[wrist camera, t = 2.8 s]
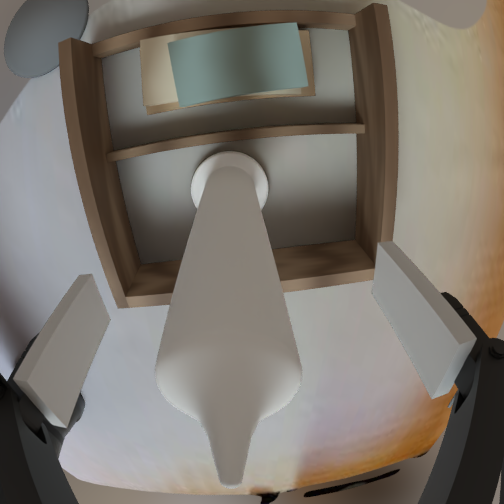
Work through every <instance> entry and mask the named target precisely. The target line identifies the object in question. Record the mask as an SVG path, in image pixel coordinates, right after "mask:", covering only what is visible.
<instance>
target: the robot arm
mask: <svg viewBox="0 0 504 504" xmlns="http://www.w3.org/2000/svg"><path fill="white" fill-rule="evenodd" d="M372 294H373V296H374V298H375V299H376V301H377V303H378V304H379V306H380V307H381V309H382V311H383V312H384V314H385V316H386V317H387V319H388V321H389V322H390V324H391V326H392V328H393V329H394V331H395V333H396V334H397V336H398V338H399V340H400V341H401V343H402V345H403V347H404V348H405V350H406V352H407V354H408V356H409V357H410V359H411V361H412V363H413V365H414V366H415V368H416V370H417V372H418V374H419V376H420V378H421V380H422V381H423V383H424V385H425V387H426V389H427V391H428V393H429V395H430V397H431V399H434V398H436V397H439V396H442V395H444V394H447V393H449V391H450V389H451V387H452V386H453V384H454V383H455V384H456V386H457V388H458V390H457V392H456V394H455V395H454V397H453V399H452V400H451V402H450V403H449V405H448V407H449V408H450V407H451V406H452V404H453V406H452V410H451V414H450V418H449V421H448V425H447V428H446V431H445V435H444V438H443V441H442V444H441V447H440V450H439V453H438V456H437V459H436V461H435V464H434V467H433V469H432V472H431V474H430V477H429V479H428V482H427V484H426V486H425V489H424V491H423V493H422V496H421V498H420V500H419V502H418V504H492V501H493V498H494V495H495V491H496V488H497V484H498V480H499V476H500V472H501V490H500V503H499V504H504V341H503V340H500V339H498V338H489V337H488V336H487V335H486V333H485V332H484V331H483V330H482V328H481V327H480V326H479V325H478V324H477V322H476V321H475V320H474V319H473V317H472V316H471V315H469V313H468V311H467V310H466V309H465V308H463V306H462V304H461V303H460V302H459V301H458V300H457V299H456V298H455V297H453V296H452V295H450V294H449V293H447V292H443V293H440V292H439V291H438V290H437V289H436V288H435V286H434V285H433V284H432V283H431V282H430V281H429V280H428V279H427V277H426V276H425V275H424V274H423V273H422V272H421V271H420V270H419V269H418V267H417V266H416V265H415V264H414V263H413V262H412V261H411V260H410V259H409V258H408V257H407V256H406V255H405V254H404V252H403V251H402V250H401V249H400V248H399V247H398V246H397V245H396V244H395V243H394V242H393V241H388V242H379V243H378V246H377V255H376V264H375V272H374V280H373V287H372ZM110 320H111V319H110V317H109V314H108V312H107V310H106V308H105V305H104V303H103V300H102V298H101V296H100V293H99V291H98V288H97V286H96V283H95V281H94V278H93V275H92V274H86V275H79V276H78V278H77V279H76V280H75V282H74V283H73V284H72V286H71V287H70V289H69V290H68V291H67V293H66V294H65V296H64V297H63V299H62V300H61V301H60V303H59V304H58V306H57V307H56V309H55V310H54V312H53V313H52V315H51V316H50V318H49V319H48V321H47V322H46V324H45V325H44V327H43V329H42V330H41V332H40V333H38V334H37V335H36V336H35V337H34V338H33V339H32V340H31V341H30V343H29V345H28V346H27V348H26V349H25V350H26V351H24V353H23V354H22V356H21V357H22V358H20V360H19V361H18V363H17V365H16V366H15V368H14V370H13V372H12V374H11V375H10V377H9V379H8V381H6V380H5V378H4V377H3V376H2V375H1V373H0V504H79V503H78V501H77V499H76V498H75V495H74V493H73V492H72V489H71V487H70V485H69V483H68V481H67V479H66V477H65V474H64V472H63V470H62V467H61V465H60V463H59V460H58V458H59V454H60V451H61V448H62V444H63V441H64V438H65V436H66V435H67V434H68V432H69V431H70V430H71V428H72V427H73V425H74V424H75V422H77V421H79V419H80V418H81V416H82V414H83V411H84V408H85V403H84V400H83V398H82V396H81V395H80V391H81V388H82V386H83V383H84V381H85V378H86V376H87V373H88V371H89V368H90V366H91V363H92V361H93V359H94V356H95V354H96V352H97V349H98V347H99V345H100V342H101V340H102V338H103V336H104V333H105V331H106V329H107V327H108V325H109V322H110Z"/></svg>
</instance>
